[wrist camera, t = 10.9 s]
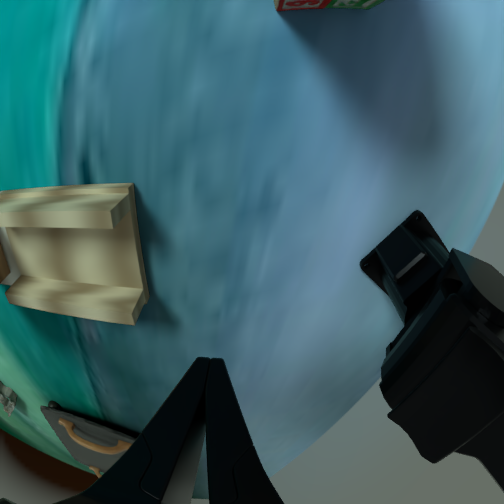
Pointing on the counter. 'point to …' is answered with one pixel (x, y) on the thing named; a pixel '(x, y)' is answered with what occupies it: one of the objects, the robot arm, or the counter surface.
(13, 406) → the bumpy grey rock
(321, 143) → the counter surface
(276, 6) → the stack of blocks
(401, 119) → the counter surface
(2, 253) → the walnut block
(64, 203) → the chute
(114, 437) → the serving board
